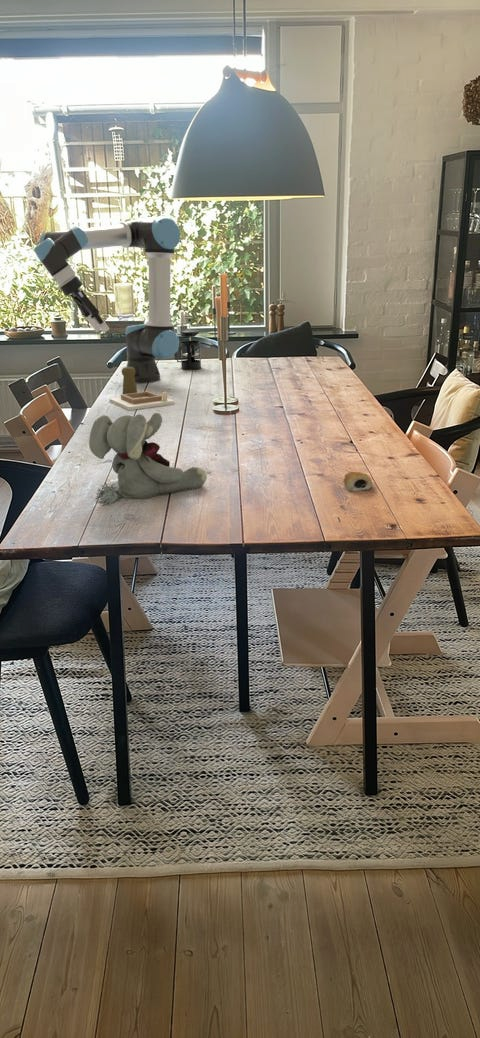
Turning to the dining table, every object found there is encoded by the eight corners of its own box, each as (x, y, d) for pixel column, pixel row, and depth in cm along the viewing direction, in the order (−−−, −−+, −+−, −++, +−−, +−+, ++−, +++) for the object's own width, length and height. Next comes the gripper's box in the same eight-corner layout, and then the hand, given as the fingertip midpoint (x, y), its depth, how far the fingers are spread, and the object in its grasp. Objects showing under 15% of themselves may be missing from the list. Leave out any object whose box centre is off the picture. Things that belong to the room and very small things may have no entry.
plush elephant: (151, 470, 205) (147, 393, 198) (210, 486, 191) (208, 404, 184) (69, 495, 187) (60, 411, 179) (127, 515, 173) (121, 425, 165)
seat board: (153, 395, 296) (152, 385, 295) (174, 404, 282) (173, 392, 280) (109, 401, 288) (108, 390, 286) (129, 410, 273) (128, 398, 272)
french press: (204, 366, 358) (202, 315, 349) (201, 370, 349) (199, 318, 341) (179, 366, 359) (177, 316, 351) (175, 370, 350) (173, 318, 342)
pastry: (339, 480, 194) (339, 466, 193) (365, 479, 195) (366, 465, 193) (347, 492, 185) (348, 477, 184) (374, 491, 186) (375, 476, 184)
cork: (139, 394, 300) (137, 365, 296) (136, 397, 295) (134, 368, 291) (124, 394, 301) (122, 365, 297) (120, 397, 295) (118, 368, 291)
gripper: (54, 288, 288) (88, 335, 297) (64, 285, 266) (101, 337, 275) (70, 276, 289) (104, 324, 298) (82, 273, 267) (118, 325, 276)
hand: (103, 330), depth 286 cm, fingers open, 13 cm apart
